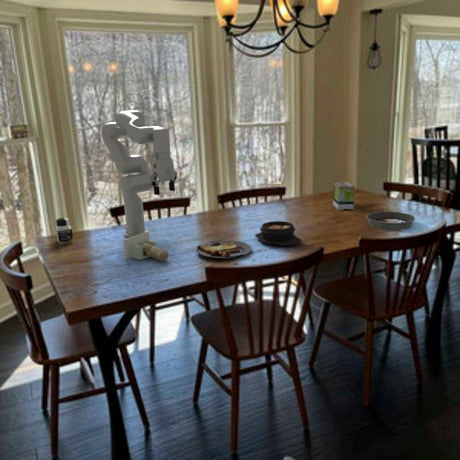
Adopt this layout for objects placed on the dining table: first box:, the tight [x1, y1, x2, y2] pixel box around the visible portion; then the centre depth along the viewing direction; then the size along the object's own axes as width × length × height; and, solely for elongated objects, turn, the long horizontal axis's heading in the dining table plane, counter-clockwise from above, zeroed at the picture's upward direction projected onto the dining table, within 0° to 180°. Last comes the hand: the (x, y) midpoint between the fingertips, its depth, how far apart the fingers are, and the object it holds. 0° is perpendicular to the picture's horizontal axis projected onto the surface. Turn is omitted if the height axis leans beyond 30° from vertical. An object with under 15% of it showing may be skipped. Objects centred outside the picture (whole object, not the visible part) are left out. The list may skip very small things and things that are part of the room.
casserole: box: [254, 220, 302, 247], centre depth 217 cm, size 25×19×8 cm
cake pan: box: [365, 211, 416, 231], centre depth 238 cm, size 25×25×4 cm
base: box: [122, 231, 150, 260], centre depth 206 cm, size 2×14×9 cm, turn 143°
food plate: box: [196, 239, 252, 259], centre depth 206 cm, size 25×23×4 cm
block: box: [130, 239, 157, 261], centre depth 204 cm, size 6×10×6 cm, turn 143°
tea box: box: [332, 181, 356, 211], centre depth 278 cm, size 15×10×15 cm, turn 179°
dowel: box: [140, 242, 169, 262], centre depth 200 cm, size 14×5×5 cm, turn 53°
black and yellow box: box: [55, 217, 74, 244], centre depth 231 cm, size 7×7×12 cm
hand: (164, 192), depth 209 cm, fingers open, 9 cm apart
